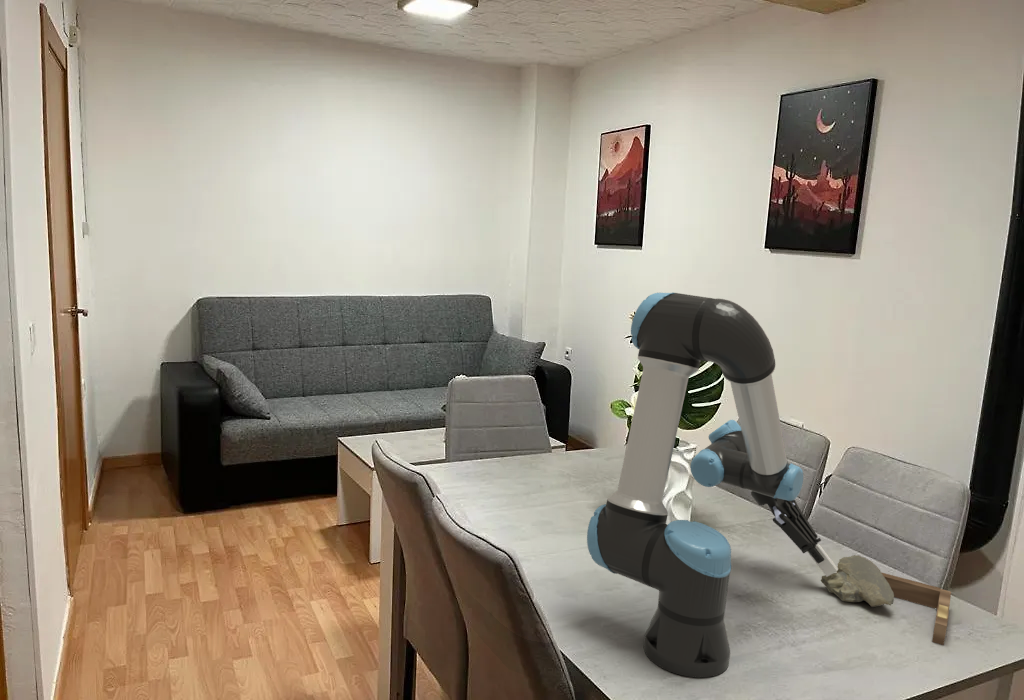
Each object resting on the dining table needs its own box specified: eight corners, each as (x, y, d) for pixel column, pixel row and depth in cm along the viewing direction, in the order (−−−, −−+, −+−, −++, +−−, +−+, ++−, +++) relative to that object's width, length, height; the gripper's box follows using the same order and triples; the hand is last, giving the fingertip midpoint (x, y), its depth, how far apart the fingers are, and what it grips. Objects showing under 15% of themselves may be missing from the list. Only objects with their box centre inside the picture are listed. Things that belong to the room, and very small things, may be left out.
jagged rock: (848, 602, 172) (813, 586, 170) (866, 559, 173) (831, 542, 171) (894, 625, 158) (856, 608, 156) (913, 578, 159) (875, 560, 157)
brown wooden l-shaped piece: (943, 645, 149) (947, 625, 148) (839, 614, 158) (841, 595, 158) (948, 608, 164) (951, 589, 164) (852, 582, 174) (855, 564, 173)
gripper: (769, 481, 166) (842, 575, 160) (782, 466, 177) (851, 554, 171) (742, 499, 169) (812, 592, 164) (756, 483, 180) (823, 570, 175)
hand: (832, 572), depth 167 cm, fingers closed
